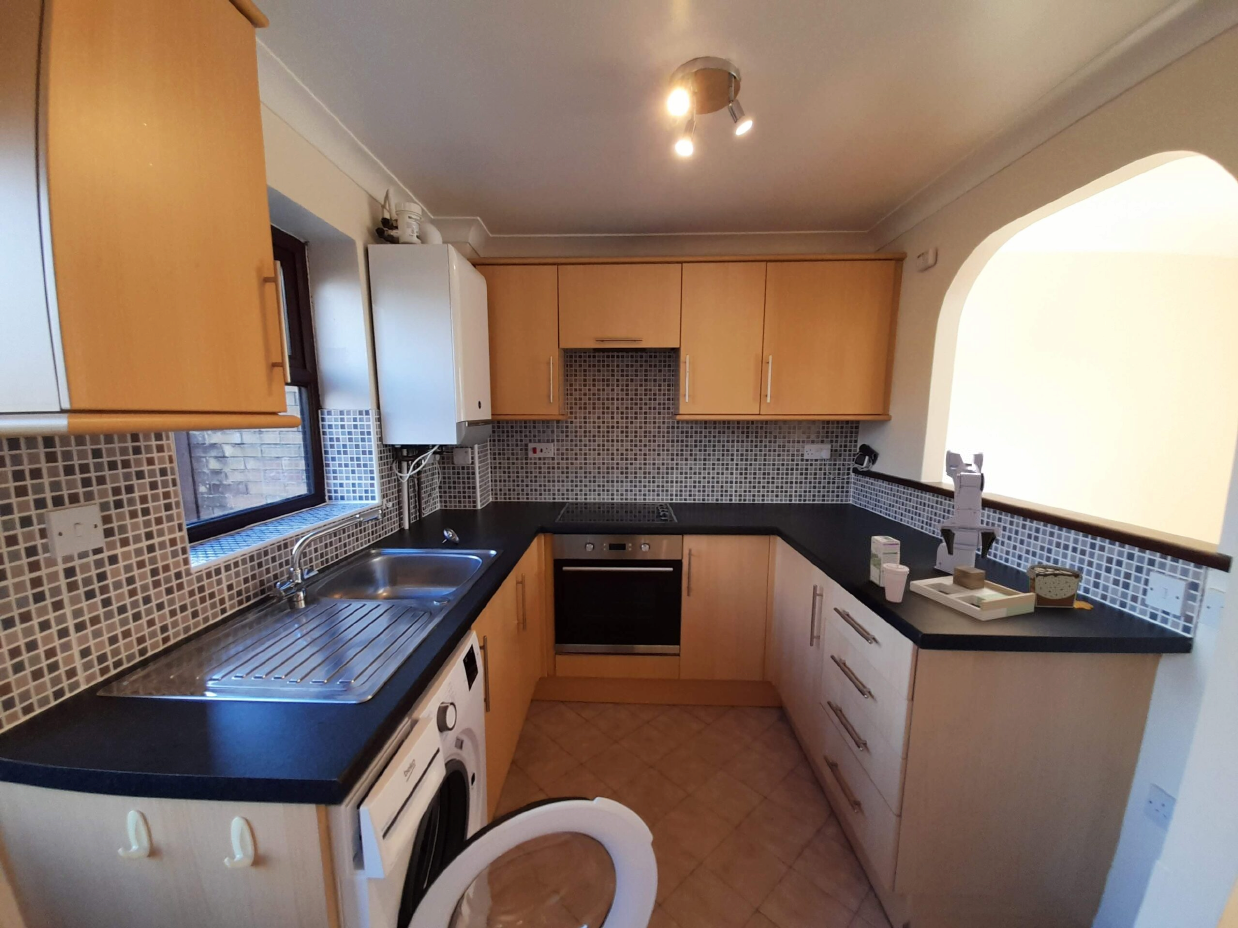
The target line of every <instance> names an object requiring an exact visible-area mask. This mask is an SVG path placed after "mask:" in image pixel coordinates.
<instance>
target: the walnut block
mask: <svg viewBox="0 0 1238 928" xmlns="http://www.w3.org/2000/svg"><path fill="white" fill-rule="evenodd" d="M952 576H953V584H956V585H958V586H961V587H964V588H966V589H969V590H975V589H982V588H984V581H985V580H986V579H985V578H986V571H985V570H982V569H979V568H976V567H974V568H973V567H970V566H959V567H954V573H953V574H952Z"/></svg>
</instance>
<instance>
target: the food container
mask: <svg viewBox="0 0 1238 928" xmlns="http://www.w3.org/2000/svg"><path fill="white" fill-rule="evenodd" d="M1025 575H1026V576H1028V590H1029V591H1028V593H1035V604H1034V608H1037V607H1038V608H1039V607H1040V608H1042V607H1043V608H1068V609H1069V608H1071V609H1072V608H1074V607H1075V603H1076V600H1077V599H1076V598H1077V594H1078V590H1079V585H1080V581H1083V580H1084V578H1083V574H1082V571H1079V570H1076V569H1072V568H1069V567H1063V566H1058V565H1050V564H1041V563H1040V564H1030V565H1029V566H1028V567H1027V569H1026V570H1025Z"/></svg>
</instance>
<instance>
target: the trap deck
mask: <svg viewBox="0 0 1238 928" xmlns="http://www.w3.org/2000/svg"><path fill="white" fill-rule="evenodd" d="M909 590H910V591H912V592H914V593H916V594H919V595H922V596H924V597H927V598H929V599H931V600H933V601H936V602H938V603H941V604H942V605H944V606H947V607H949V608H952V609H955V610H956V611H958V612H961V613H964V614H966V615H968V616H971V617H972V618H975V619H977V620H979V621H982V622H984V621H990V620H994V619H996V620H997V619H1001V618H1002V619H1003V618H1006V617H1007V618H1008V617H1012V616H1017V615H1023V614H1028V613H1034V612H1035V606H1034V604H1035V593H1029V592H1027V593H1024V592H1020V591H1018V590H1014V589H1012V588H1009V587H1007V586H1003V585H1001V584H998V583H994V582H992V581H989V580H986V579H985V581H984V588H982V589H975V590H969V589H966V588H964V587H961V586H958V585H956V584H953V575H948V576H940V577H933V578H932V577H931V578H927V579H920V580H913V581H910V583H909ZM940 591H941V592H940ZM946 593H947V594H946ZM972 604H974V605H975V606H974V605H972ZM977 606H978V607H977Z"/></svg>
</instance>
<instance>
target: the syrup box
mask: <svg viewBox="0 0 1238 928" xmlns="http://www.w3.org/2000/svg"><path fill="white" fill-rule="evenodd" d="M870 541H871V546H870V547H871V548H870V563H869V565H870V566H869V567H870V569H869V571H870V572H869V580H870V581H871V582H873V583H874V584H876V585H877V586H879V587H883V588H885V581H884V570H883V569H882V567H883V564H886V563H894V564H897V553H898V552H900V550H901V549H900V547H901V541H900V540H897V539H895V538H893V537H891V536H888V535H876V536H871V540H870ZM900 553H901V552H900Z"/></svg>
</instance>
